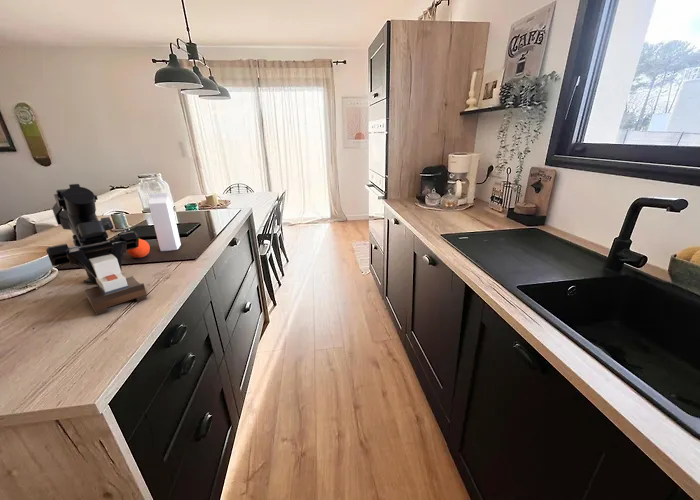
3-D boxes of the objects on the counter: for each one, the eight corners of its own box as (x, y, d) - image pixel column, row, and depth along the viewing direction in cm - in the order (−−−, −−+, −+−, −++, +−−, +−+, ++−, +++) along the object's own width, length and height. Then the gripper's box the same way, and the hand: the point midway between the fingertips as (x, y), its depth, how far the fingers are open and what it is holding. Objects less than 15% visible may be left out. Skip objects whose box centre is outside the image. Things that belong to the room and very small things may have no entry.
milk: (177, 250, 113) (164, 194, 106) (160, 251, 112) (145, 195, 104) (181, 245, 119) (169, 191, 111) (164, 246, 117) (151, 192, 109)
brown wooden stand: (87, 299, 78) (81, 284, 76) (135, 285, 85) (131, 271, 84) (96, 315, 70) (90, 299, 69) (148, 298, 78) (143, 283, 76)
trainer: (97, 285, 79) (87, 258, 76) (120, 279, 82) (112, 253, 80) (105, 296, 73) (95, 268, 70) (129, 289, 77) (121, 261, 74)
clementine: (133, 254, 109) (127, 236, 107) (154, 251, 112) (149, 234, 109) (127, 261, 102) (121, 243, 100) (150, 258, 105) (145, 240, 102)
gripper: (31, 215, 67) (54, 271, 64) (127, 203, 80) (150, 249, 77) (41, 240, 75) (62, 291, 72) (127, 225, 88) (148, 267, 85)
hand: (108, 273), depth 76 cm, fingers closed on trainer, 5 cm apart
